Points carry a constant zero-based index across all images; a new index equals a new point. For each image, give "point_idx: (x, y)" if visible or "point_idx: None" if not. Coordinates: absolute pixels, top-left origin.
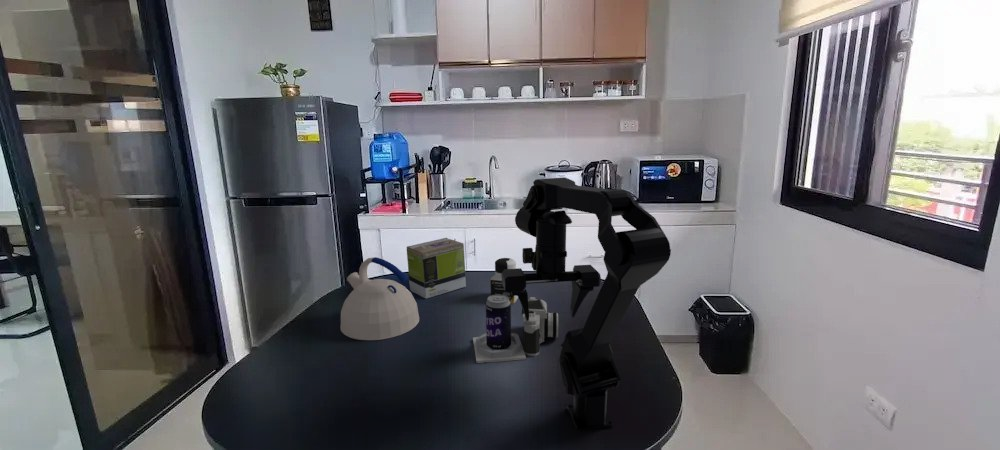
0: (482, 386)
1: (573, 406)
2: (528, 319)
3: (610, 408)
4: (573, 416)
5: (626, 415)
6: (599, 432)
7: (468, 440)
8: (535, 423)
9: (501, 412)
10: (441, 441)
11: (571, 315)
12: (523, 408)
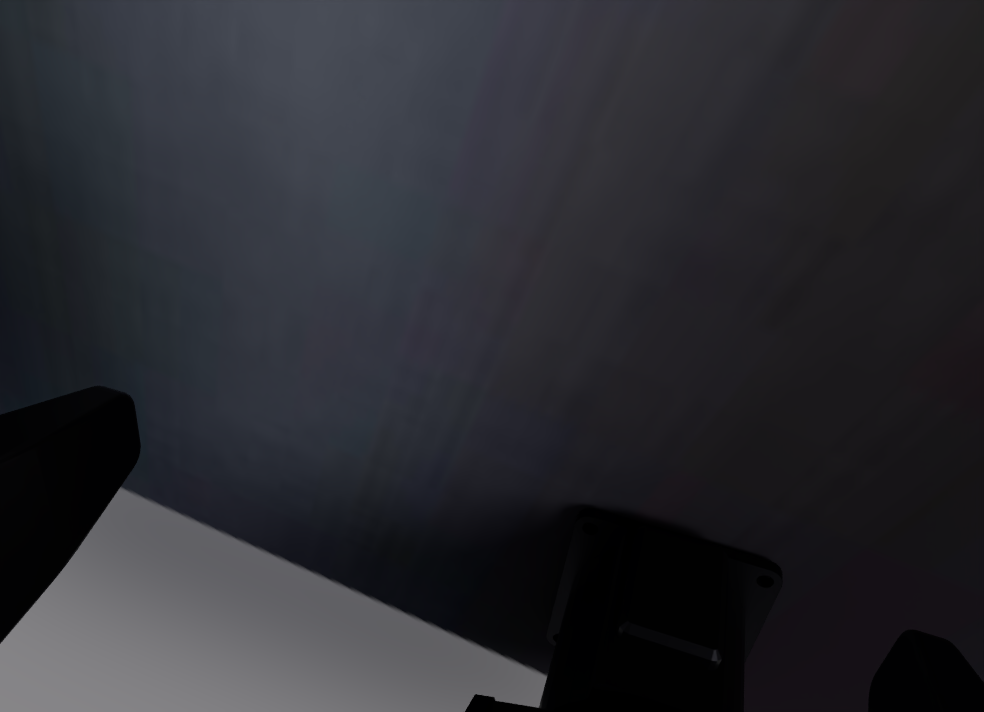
0: (147, 119)
1: (607, 536)
2: (120, 481)
3: (817, 601)
4: (566, 587)
5: (857, 669)
6: None
7: None
8: (385, 516)
9: (243, 388)
10: None
11: (882, 689)
12: (355, 407)
